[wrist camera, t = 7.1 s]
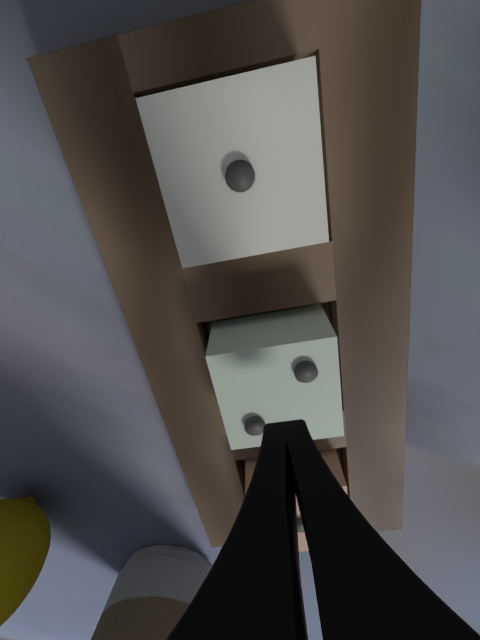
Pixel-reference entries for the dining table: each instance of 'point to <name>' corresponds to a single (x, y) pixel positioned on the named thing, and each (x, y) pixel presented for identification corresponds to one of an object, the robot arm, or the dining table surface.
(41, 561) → the lemon
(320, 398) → the tile two pip
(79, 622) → the dining table surface
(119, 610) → the coffee cup
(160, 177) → the tile one pip
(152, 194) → the board
